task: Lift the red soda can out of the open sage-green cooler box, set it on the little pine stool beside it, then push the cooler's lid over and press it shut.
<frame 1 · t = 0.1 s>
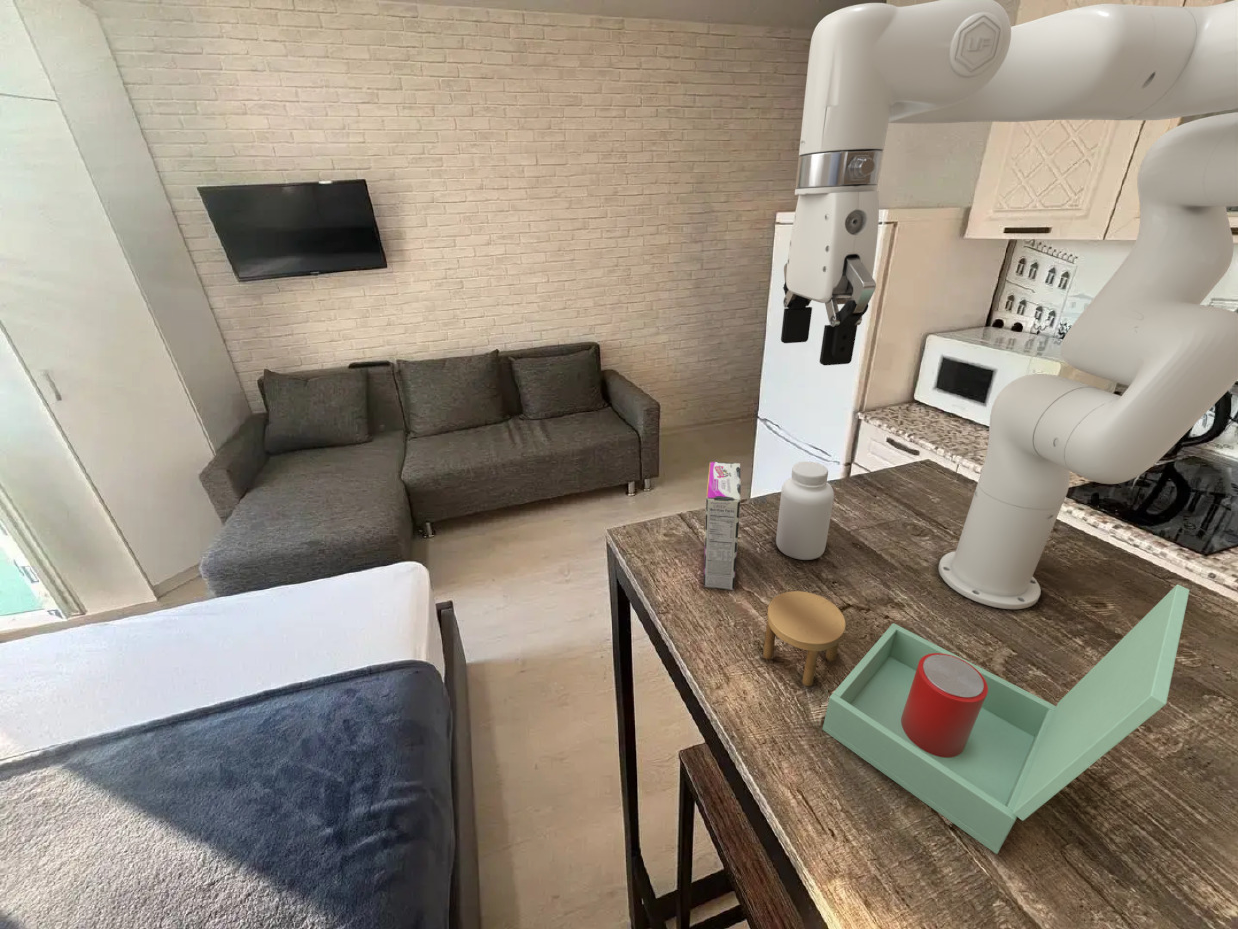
hand: (813, 352, 57), 37 cm above the table, tool pointing down, fingers open, 9 cm apart
soda can: (932, 731, 55), point 1 cm above the table, touching cooler
stool: (799, 656, 65), on the table
candy bar box: (718, 568, 82), on the table
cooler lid: (1099, 703, 42), point 14 cm above the table, hinge at 100.0°
cooler: (930, 735, 55), on the table
pill bottle: (799, 548, 86), on the table
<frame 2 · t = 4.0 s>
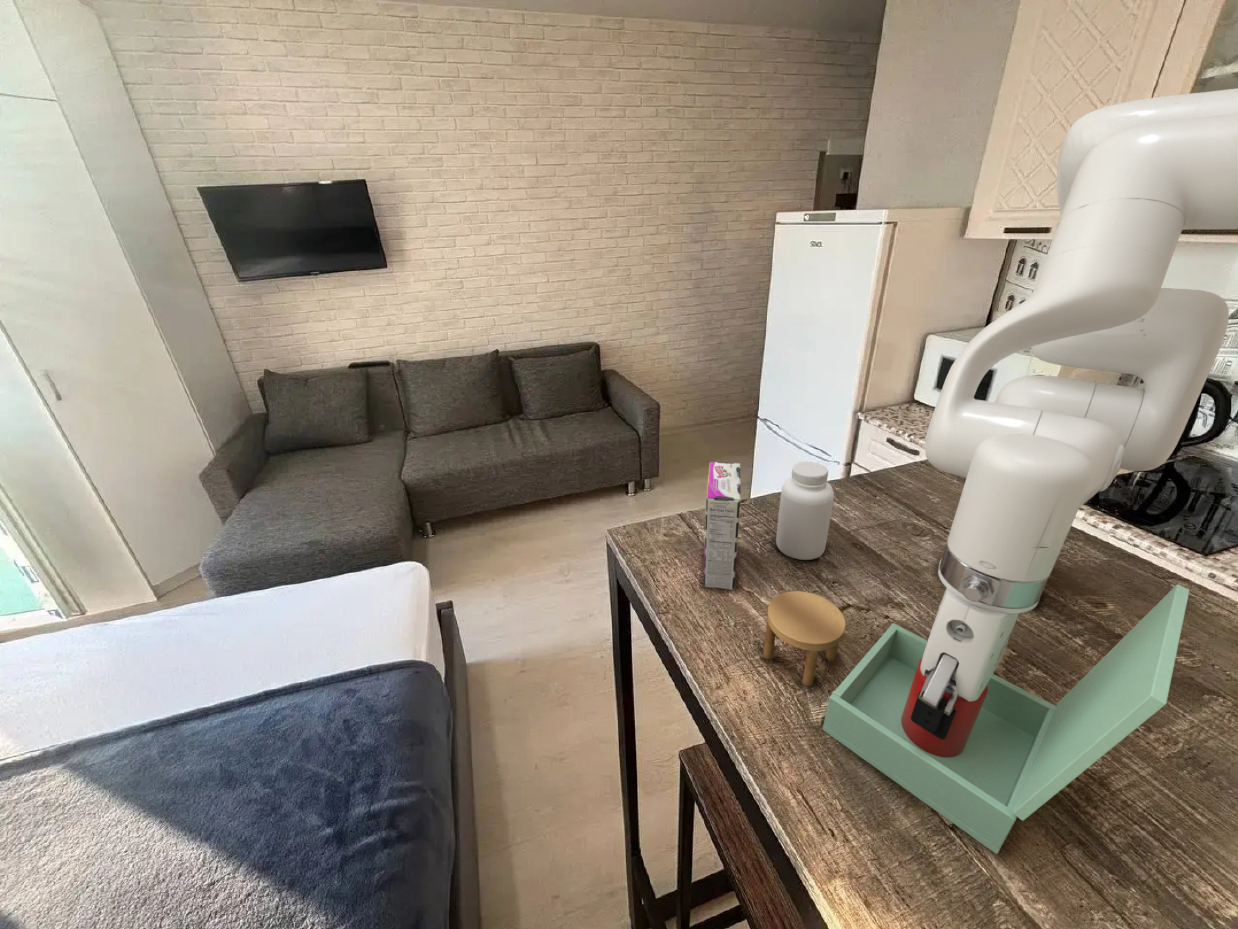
hand: (940, 707, 53), 5 cm above the table, tool pointing down, fingers closed on soda can, 6 cm apart
soda can: (932, 731, 55), point 1 cm above the table, touching cooler, gripper
everything else where it was.
when the fingers open (11 cm above the table, at t = 10.6 s): soda can stays where it is, resting on stool.
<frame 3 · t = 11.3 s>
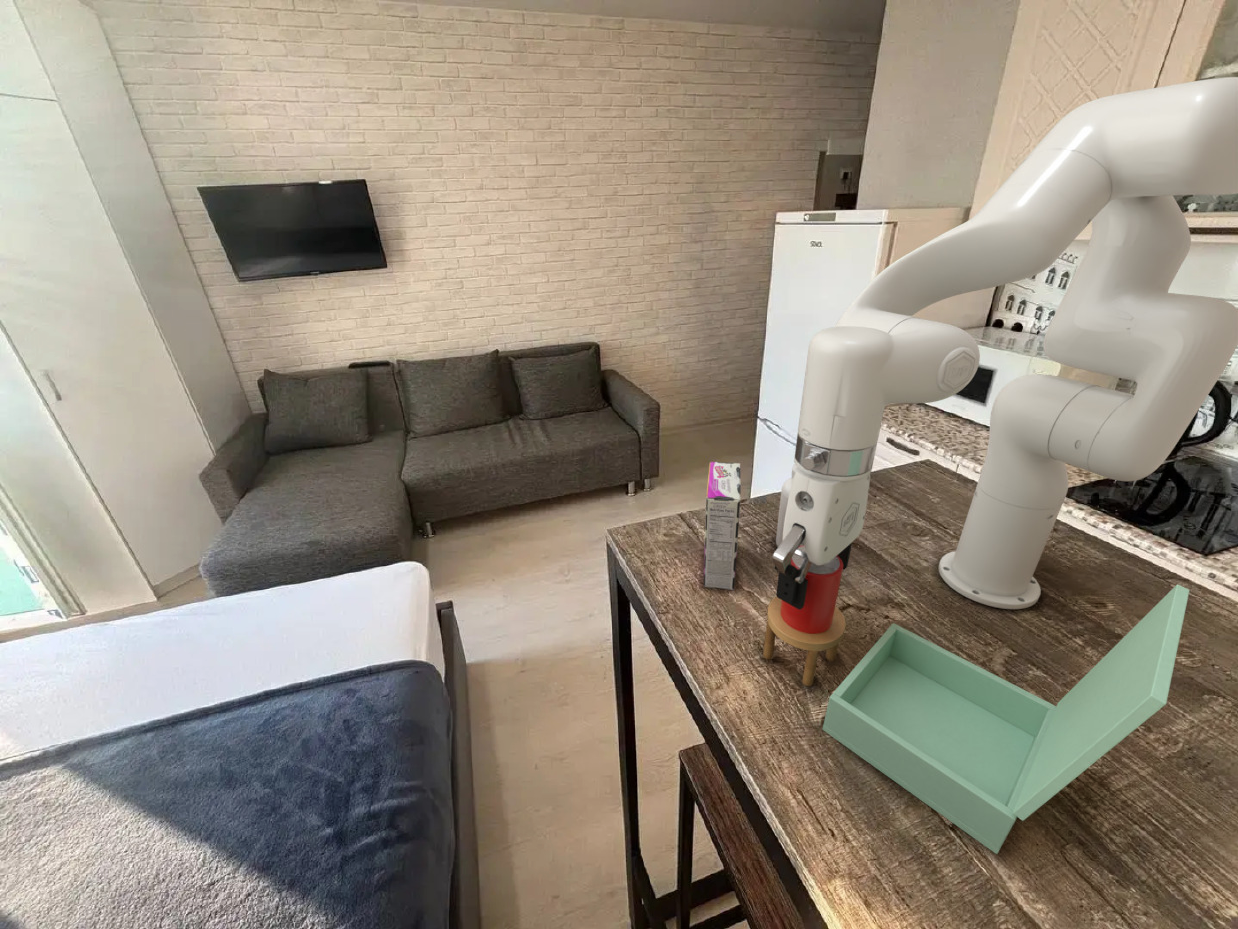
hand: (812, 582, 60), 12 cm above the table, tool pointing down, fingers open, 9 cm apart
soda can: (805, 615, 62), point 7 cm above the table, touching stool
everything else where it was.
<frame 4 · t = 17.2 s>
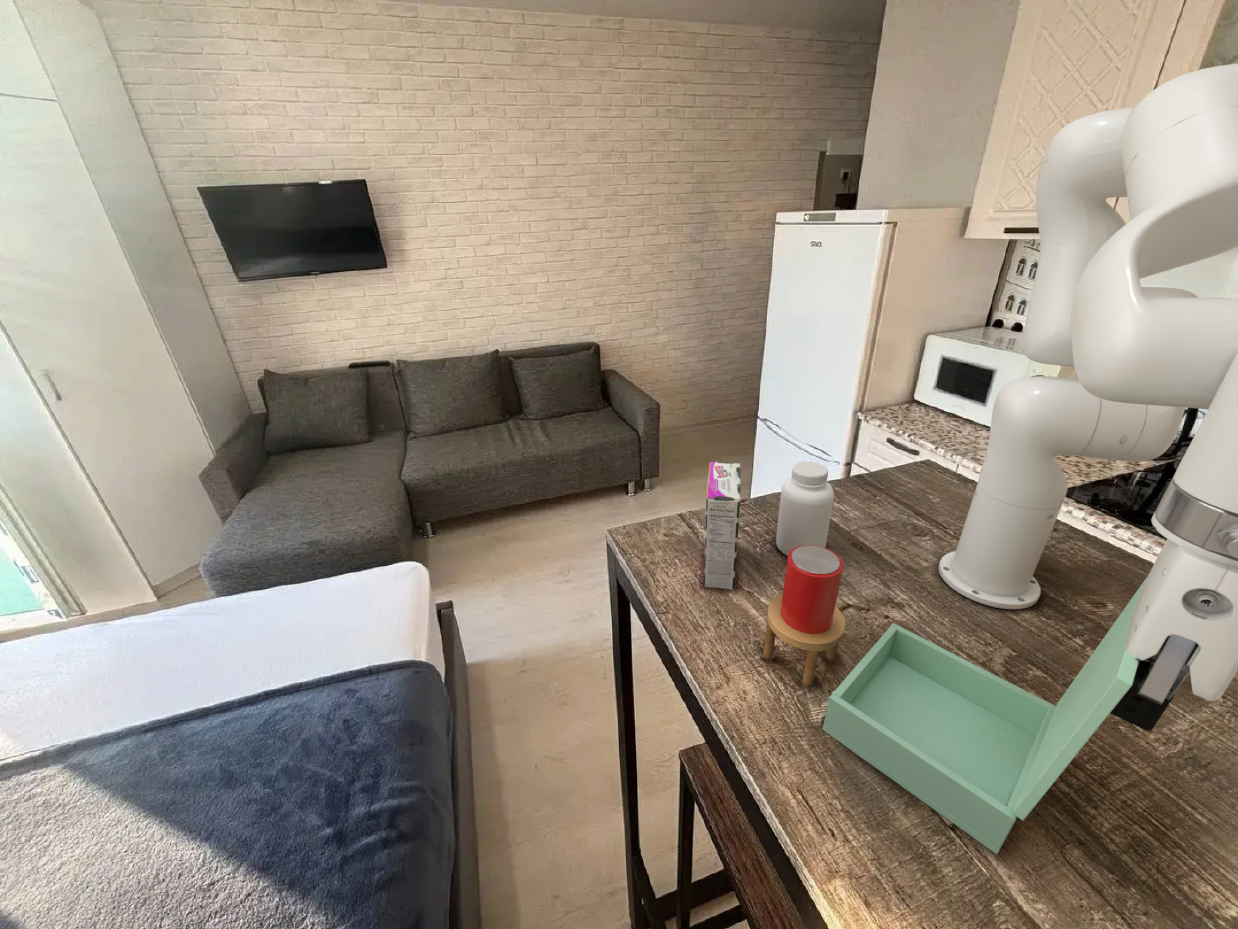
hand: (1124, 712, 41), 15 cm above the table, tool pointing down, fingers closed
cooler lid: (1087, 696, 43), point 14 cm above the table, hinge at 94.3°, touching gripper
everything else where it was.
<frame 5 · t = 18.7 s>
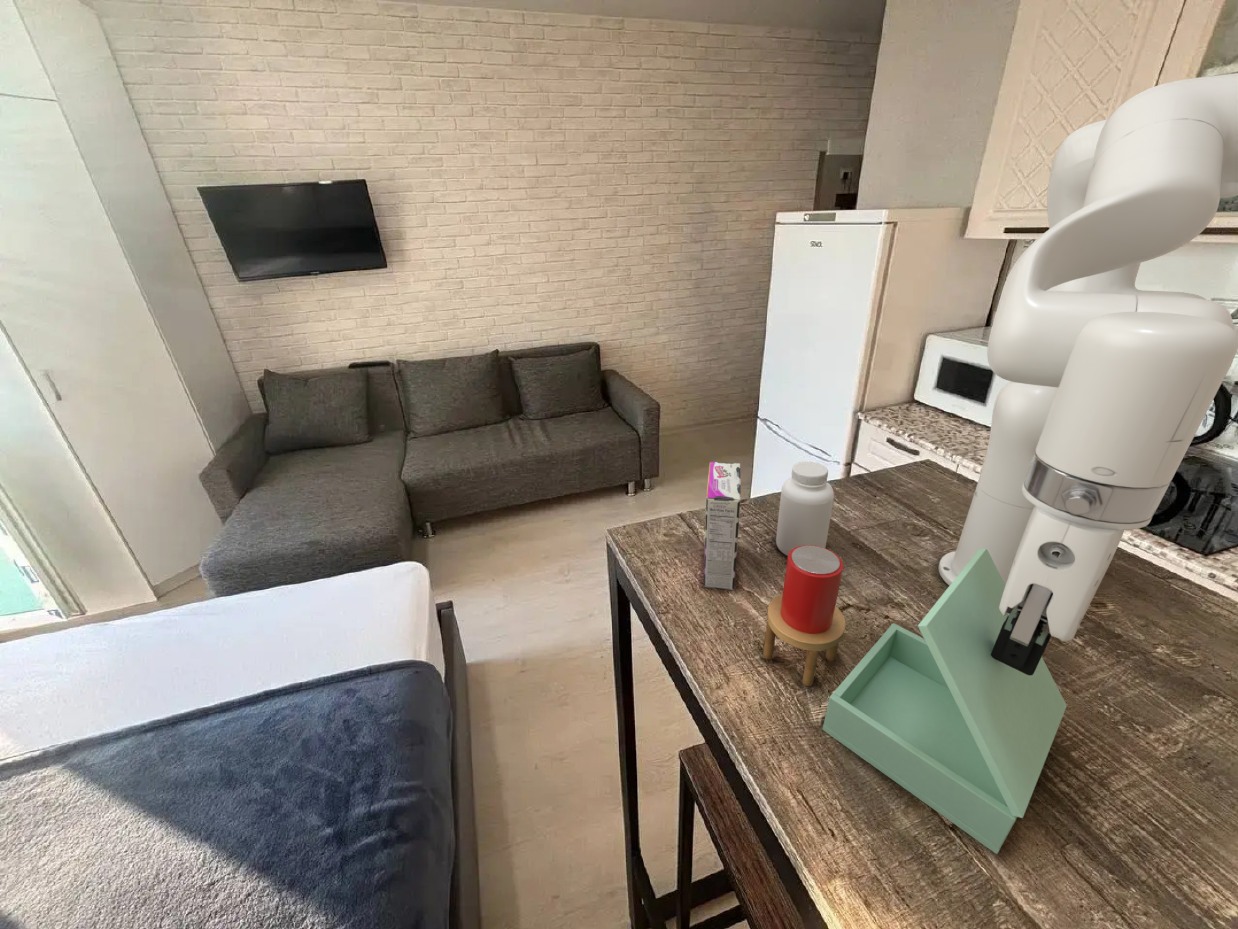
hand: (1013, 661, 46), 14 cm above the table, tool pointing down, fingers closed
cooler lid: (998, 669, 47), point 13 cm above the table, hinge at 53.0°, touching gripper
everything else where it was.
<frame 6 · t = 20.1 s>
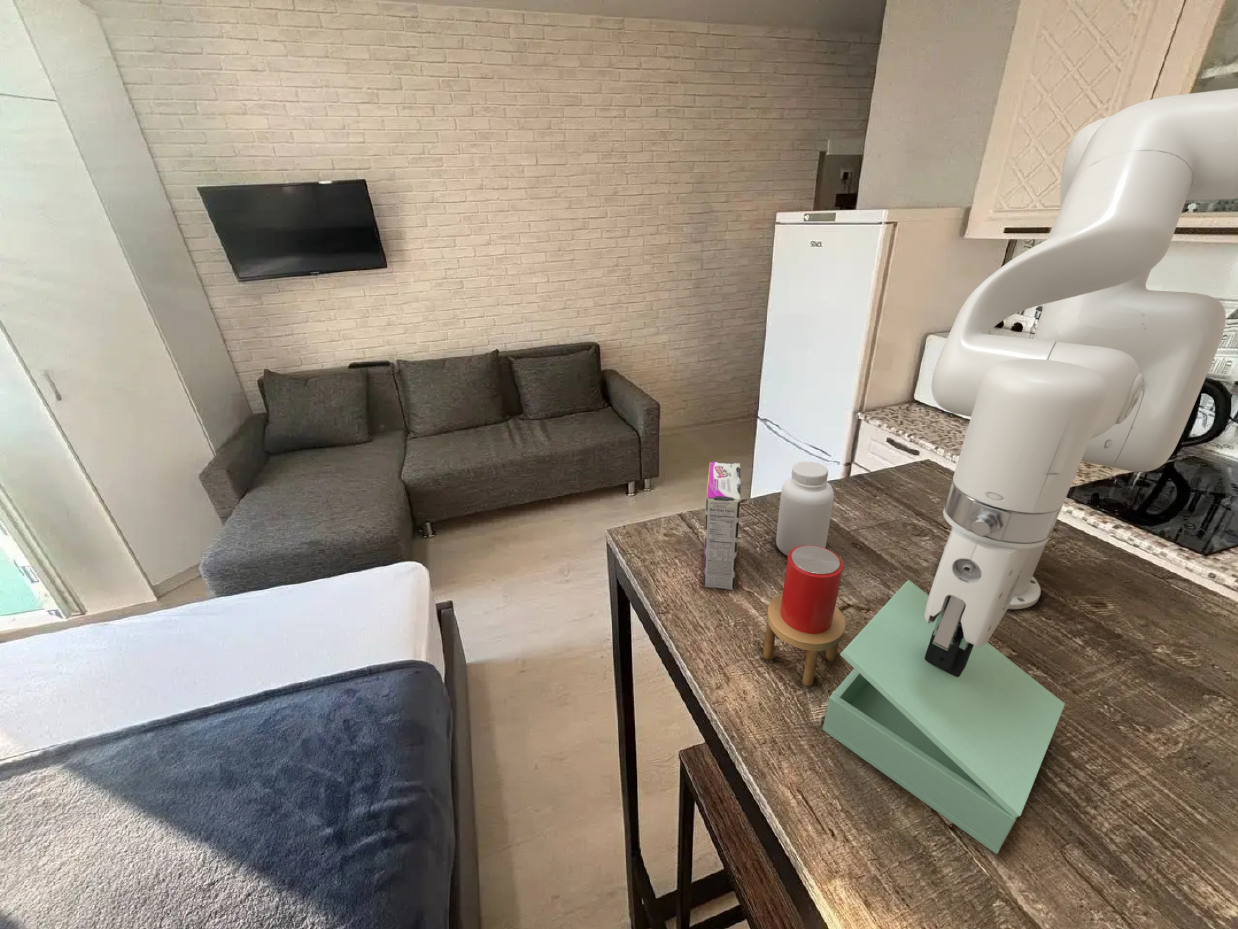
hand: (943, 664, 51), 10 cm above the table, tool pointing down, fingers closed
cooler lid: (952, 679, 51), point 9 cm above the table, hinge at 20.7°, touching gripper
everything else where it was.
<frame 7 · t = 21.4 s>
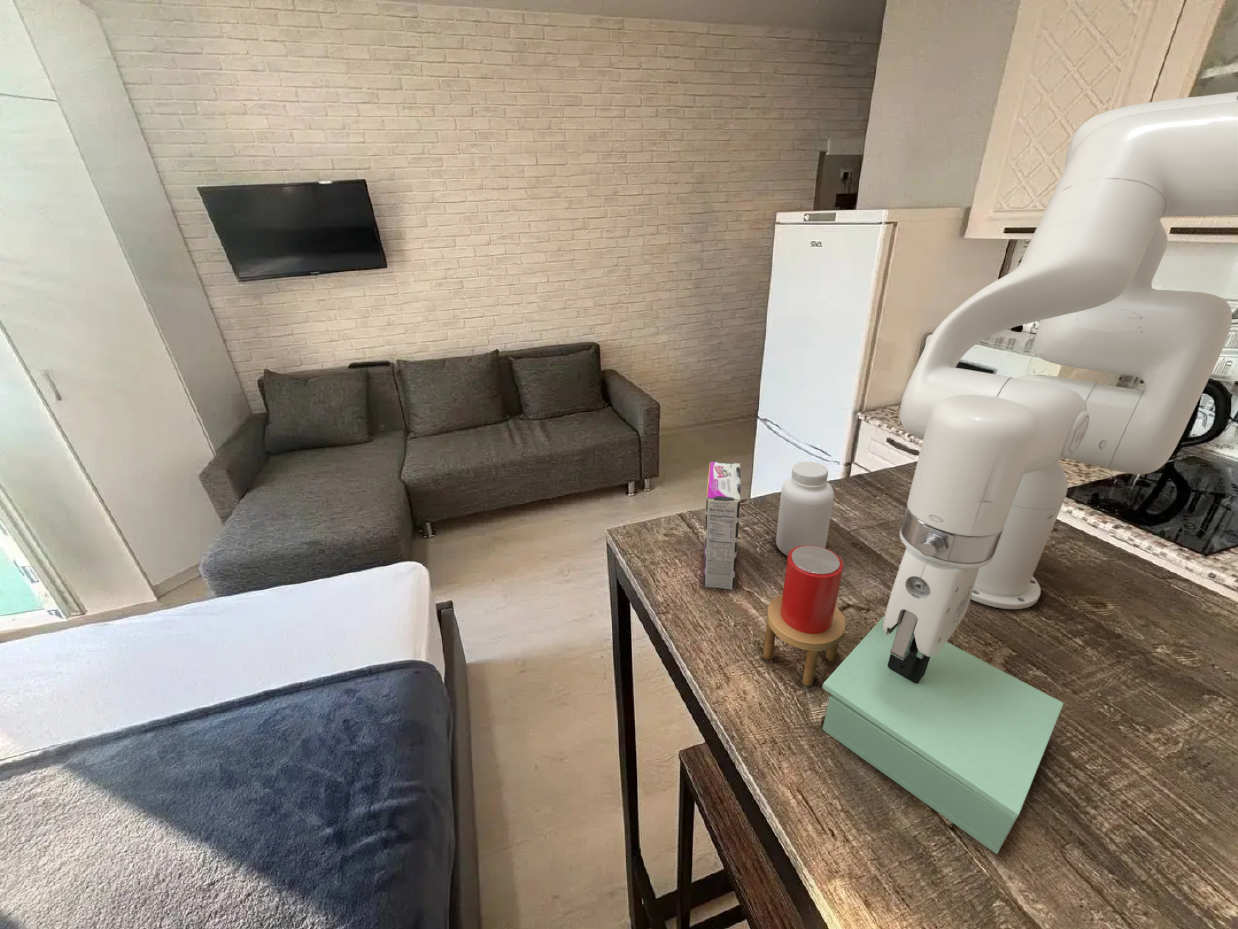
hand: (905, 671, 55), 7 cm above the table, tool pointing down, fingers closed
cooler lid: (939, 695, 53), point 6 cm above the table, hinge at 1.6°, touching gripper
everything else where it was.
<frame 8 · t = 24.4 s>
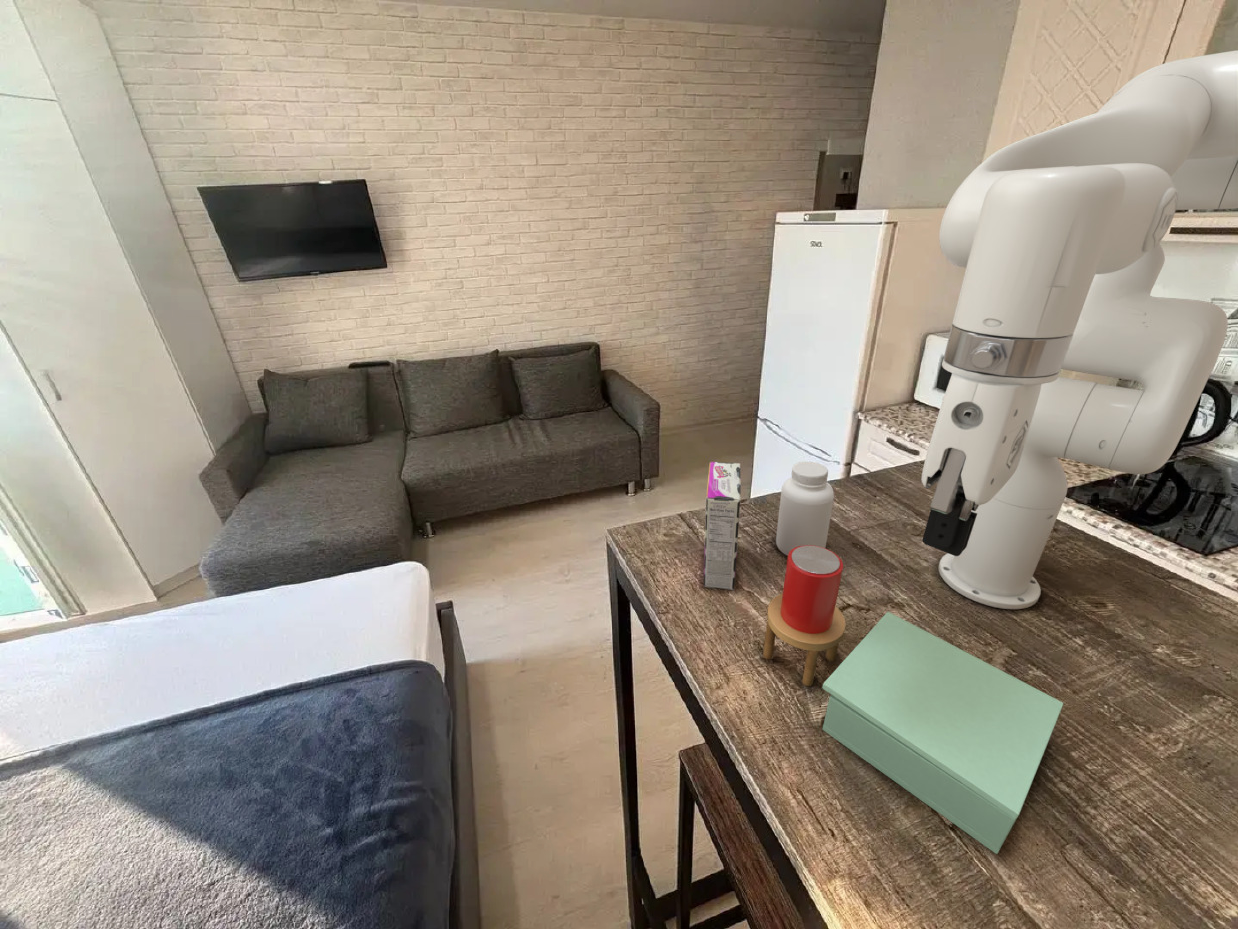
hand: (943, 546, 48), 23 cm above the table, tool pointing down, fingers closed
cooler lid: (939, 695, 53), point 6 cm above the table, hinge at 1.5°
everything else where it was.
at the end: soda can 0.0 cm off-centre on the stool, point 7.0 cm above the stool's base; soda can tilted 0°; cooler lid at +2° (first picture: +100°) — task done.
